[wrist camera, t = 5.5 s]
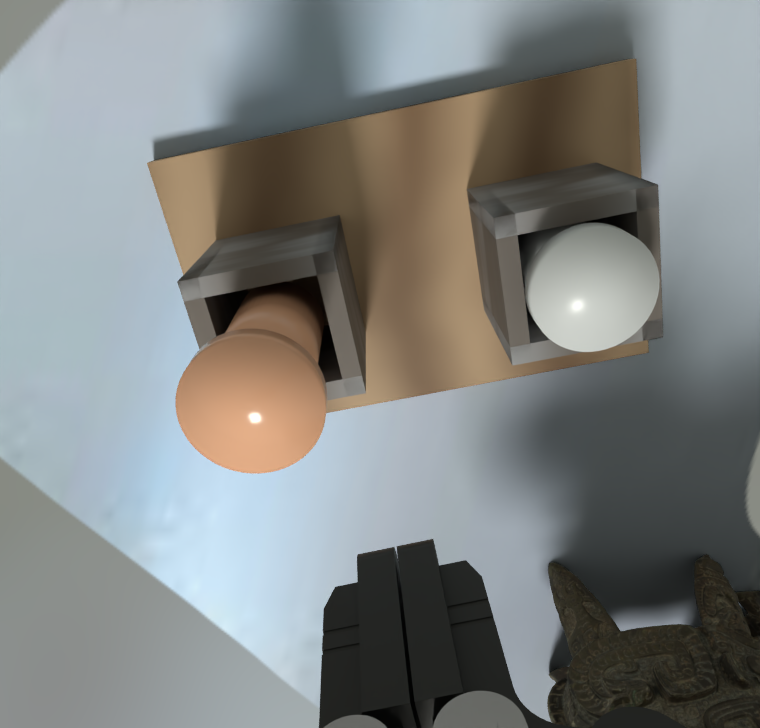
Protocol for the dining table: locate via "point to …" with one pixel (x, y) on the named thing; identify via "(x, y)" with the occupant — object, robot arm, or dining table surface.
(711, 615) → the vessel
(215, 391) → the terracotta plug
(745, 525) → the dining table surface
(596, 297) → the white bulb-shaped plug
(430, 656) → the robot arm
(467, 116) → the board
